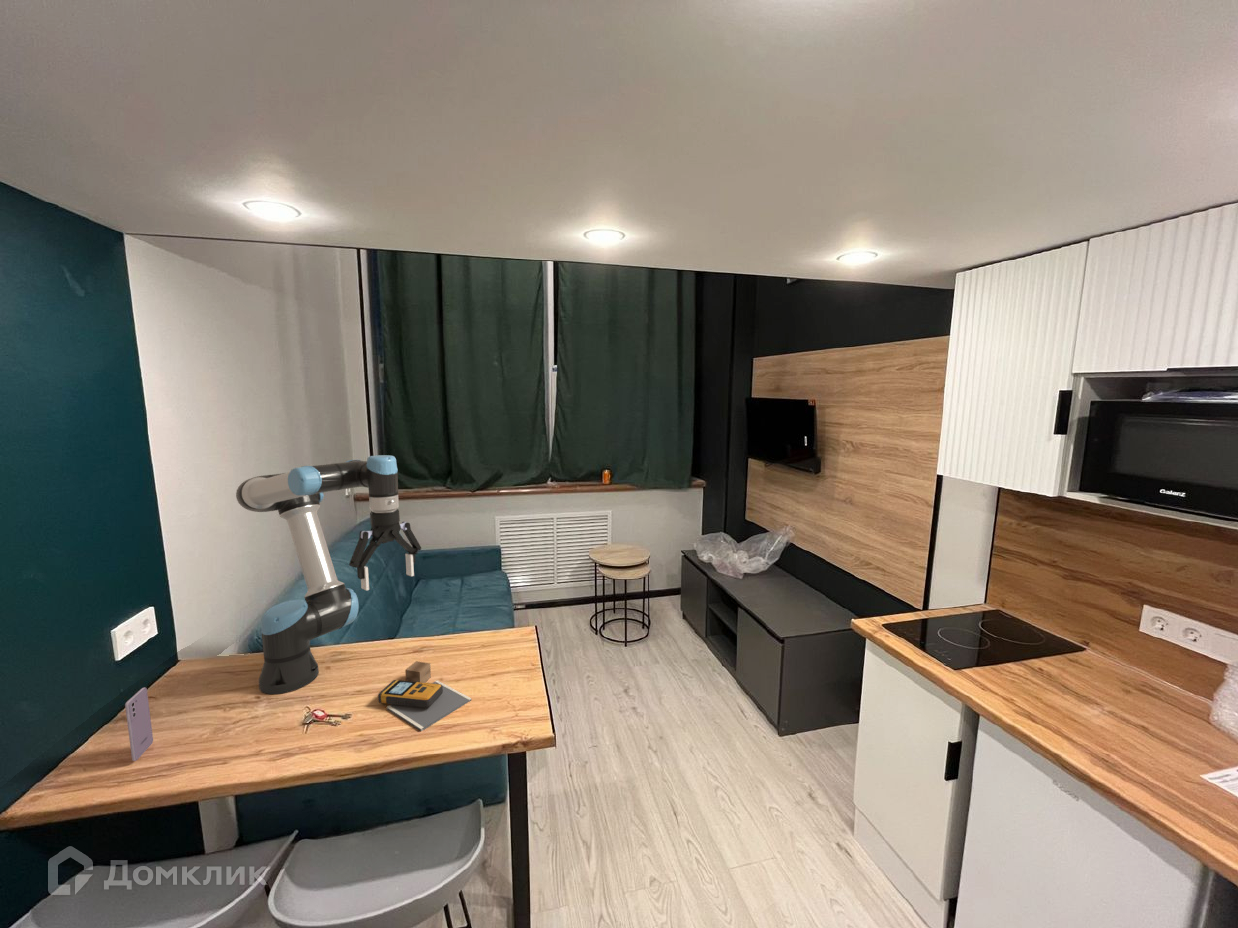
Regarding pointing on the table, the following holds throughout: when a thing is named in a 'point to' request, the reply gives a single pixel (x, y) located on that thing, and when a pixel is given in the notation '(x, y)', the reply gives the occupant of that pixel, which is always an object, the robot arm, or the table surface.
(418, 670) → the walnut block
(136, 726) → the smartphone
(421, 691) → the electronic device
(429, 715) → the mat
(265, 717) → the table surface
